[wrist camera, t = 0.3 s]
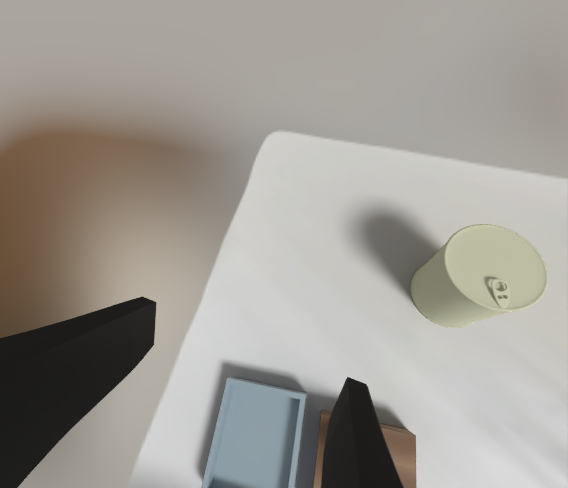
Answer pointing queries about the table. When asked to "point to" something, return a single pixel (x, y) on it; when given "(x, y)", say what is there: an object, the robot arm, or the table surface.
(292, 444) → the tray
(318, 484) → the pin stand
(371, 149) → the table surface
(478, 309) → the can
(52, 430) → the robot arm
